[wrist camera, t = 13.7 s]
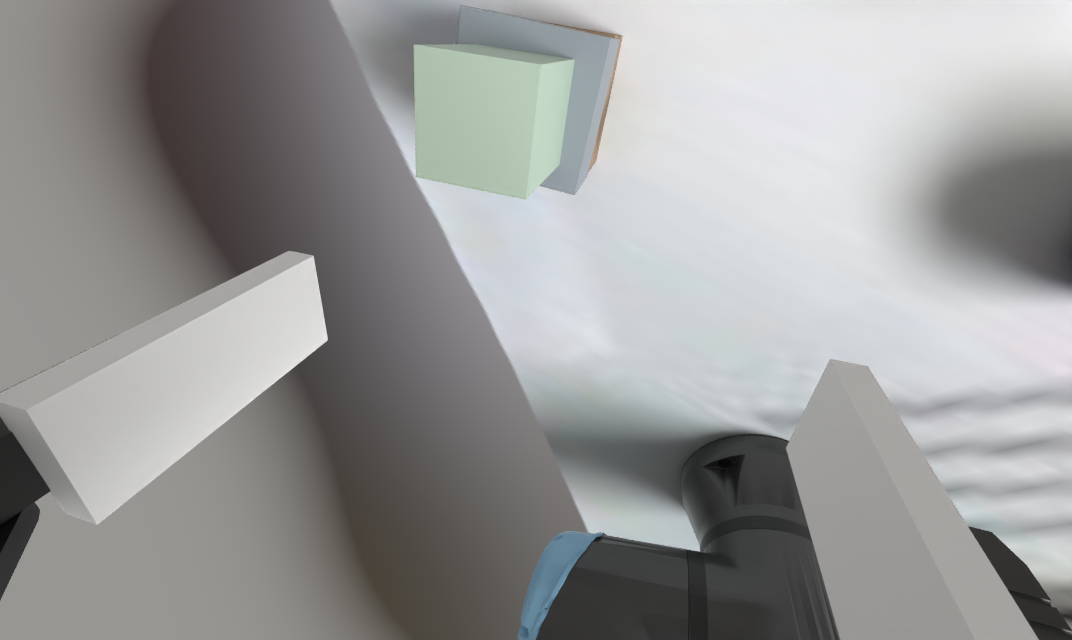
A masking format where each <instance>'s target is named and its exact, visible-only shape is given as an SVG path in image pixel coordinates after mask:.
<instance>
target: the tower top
mask: <svg viewBox="0 0 1072 640" xmlns="http://www.w3.org/2000/svg"><path fill="white" fill-rule="evenodd" d="M619 42H620V39H616V38H612V37H607V36H603V35H598V34H594V33H589V32H585V31H580V30H576V29H571V28H567V27H562V26H558V25H553V24H549V23H544V22H540V21H535V20H531V19H526V18H521V17H517V16H512V15H508V14H503V13H499V12H494V11H490V10H484V9H479V8H473V7H467V6H462V5H460V15H459V28H458V41H457V44H480V45H486V46H493V47H499V48H506V49H512V50H519V51H525V52H532V53H538V54H545V55H551V56H558V57H564V58H570V59H575V61H574V68H573V75H572V82H571V89H570V95H569V102H568V109H567V116H566V123H565V130H564V137H563V144H562V150H561V157H560V164H559V166H558V167H557V168H556V169H555V170H554V171H553V172H552V173H551V174H550V175H549V176H548V177H547V178H546V179H545V180H544V181H543V182H542V183H541V184H540V185H539V186H542V187H546V188H550V189H554V190H557V191H561V192H565V193H569V194H573V195H575V193H576V192H577V191H578V189H579V188H580V186H581V185H582V183H583V182H584V180H585V179H586V177H587V174H588V170H589V166H590V162H591V158H592V153H593V149H594V145H595V141H596V137H597V133H598V129H599V125H600V120H601V116H602V112H603V108H604V104H605V100H606V96H607V92H608V87H609V83H610V79H611V75H612V71H613V67H614V63H615V59H616V54H617V50H618V46H619Z"/></svg>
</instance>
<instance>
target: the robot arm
mask: <svg viewBox="0 0 1072 640" xmlns="http://www.w3.org/2000/svg"><path fill="white" fill-rule="evenodd" d="M327 340H328V339H327V333H326V326H325V321H324V315H323V309H322V303H321V297H320V292H319V286H318V280H317V274H316V268H315V262H314V257H313V256H312V255H307V254H302V253H297V252H292V251H288V252H286V253H284V254H282V255H280V256H278V257H276V258H274V259H272V260H269V261H267V262H265V263H263V264H261V265H259V266H257V267H255V268H253V269H251V270H250V271H247V272H245V273H243V274H241V275H239V276H237V277H235V278H233V279H231V280H229V281H227V282H225V283H223V284H221V285H219V286H217V287H215V288H213V289H210V290H208V291H206V292H204V293H202V294H200V295H198V296H196V297H194V298H192V299H190V300H188V301H186V302H184V303H182V304H180V305H178V306H176V307H174V308H172V309H170V310H168V311H166V312H164V313H162V314H159V315H157V316H156V317H153V318H151V319H149V320H147V321H145V322H143V323H141V324H139V325H137V326H135V327H133V328H131V329H129V330H127V331H125V332H123V333H121V334H118V335H116V336H114V337H112V338H110V339H108V340H106V341H104V342H102V343H100V344H98V345H96V346H94V347H92V348H90V349H88V350H85V351H83V352H81V353H79V354H77V355H75V356H74V357H71V358H70V359H68V360H66V361H63V362H61V363H59V364H57V365H55V366H53V367H51V368H49V369H47V370H45V371H43V372H41V373H39V374H37V375H34V376H33V377H31V378H28V379H27V380H24V381H22V382H20V383H18V384H16V385H14V386H12V387H10V388H8V389H6V390H4V391H2V392H0V600H1V597H2V595H3V593H4V591H5V589H6V587H7V585H8V583H9V580H10V579H11V576H12V574H13V572H14V570H15V568H16V566H17V564H18V562H19V559H20V558H21V555H22V553H23V551H24V549H25V547H26V545H27V543H28V541H29V539H30V537H31V534H32V532H33V530H34V528H35V526H36V524H37V522H38V519H39V513H40V510H39V508H38V507H37V505H36V504H35V501H37V500H38V499H39V498H41V497H42V496H44V495H45V494H47V493H48V492H51V493H52V495H53V496H54V498H55V499H56V501H57V503H58V504H59V506H60V507H61V509H62V510H63V512H64V513H65V514H68V515H71V516H74V517H77V518H80V519H83V520H85V521H88V522H91V523H94V524H97V525H98V524H99V523H100V522H101V521H103V520H104V519H105V518H106V517H108V516H109V515H110V514H111V513H113V512H114V511H115V510H116V509H118V508H119V507H120V506H121V505H122V504H124V503H125V502H126V501H128V500H129V499H130V498H131V497H133V496H134V495H135V494H136V493H138V492H139V491H140V490H141V489H142V488H144V487H145V486H146V485H148V484H149V483H150V482H151V481H152V480H154V479H155V478H156V477H157V476H159V475H160V474H161V473H162V472H164V471H165V470H166V469H168V468H169V467H170V466H171V465H172V464H174V463H175V462H176V461H177V460H179V459H180V458H181V457H182V456H184V455H185V454H186V453H187V452H189V451H190V450H191V449H192V448H194V447H195V446H196V445H197V444H199V443H200V442H201V441H202V440H204V439H205V438H206V437H207V436H209V435H210V434H211V433H212V432H214V431H215V430H216V429H217V428H219V427H220V426H221V425H222V424H224V423H225V422H226V421H227V420H229V419H230V418H231V417H232V416H234V415H235V414H236V413H237V412H238V411H240V410H241V409H242V408H244V407H245V406H246V405H247V404H249V403H250V402H251V401H252V400H253V399H255V398H256V397H257V396H259V395H260V394H261V393H262V392H263V391H265V390H266V389H267V388H269V387H270V386H271V385H272V384H274V383H275V382H276V381H277V380H279V378H281V377H282V376H284V375H285V374H286V373H287V372H289V371H290V370H291V369H292V368H293V367H295V366H296V365H297V364H299V363H300V362H301V361H302V360H304V359H305V358H306V357H307V356H308V355H310V354H311V353H312V352H314V351H315V350H316V349H317V348H318V347H320V346H321V345H322V344H323V343H324V342H326V341H327ZM681 496H682V502H683V505H684V508H685V510H686V513H687V515H688V518H689V520H690V523H691V525H692V528H693V530H694V532H695V535H696V537H697V540H698V542H699V545H700V552H698V551H692V550H686V549H682V548H676V547H670V546H664V545H658V544H652V543H646V542H640V541H634V540H629V539H623V538H618V537H613V536H607V535H606V534H604V533H596V534H592V533H581V532H574V531H567V532H563V533H560V534H559V535H557V536H556V537H554V538H553V539H552V540H551V542H550V543H549V544H548V545H547V547H546V548H545V550H544V551H543V553H542V555H541V557H540V559H539V561H538V564H537V566H536V569H535V571H534V574H533V576H532V579H531V582H530V585H529V588H528V592H527V595H526V599H525V602H524V606H523V610H522V615H521V623H522V625H521V627H520V631H519V634H518V640H1072V630H1071V629H1070V627H1069V626H1068V624H1067V623H1066V621H1065V620H1064V618H1063V617H1062V616H1061V614H1060V613H1059V611H1058V610H1057V608H1054V607H1051V604H1050V602H1051V600H1050V598H1049V597H1048V595H1047V594H1046V593H1045V591H1044V590H1043V588H1042V587H1041V585H1040V584H1039V582H1038V581H1037V580H1036V578H1035V577H1034V575H1033V574H1032V572H1031V571H1030V569H1029V568H1028V567H1027V565H1026V564H1025V563H1024V562H1023V561H1022V560H1020V559H1019V558H1018V557H1017V556H1016V555H1015V554H1014V553H1013V552H1012V551H1011V550H1010V549H1009V548H1008V547H1007V546H1006V545H1005V544H1004V543H1002V542H1001V541H1000V540H999V539H998V538H997V537H996V536H995V535H994V534H993V533H992V532H989V531H985V530H981V529H977V528H973V527H969V526H967V524H966V523H965V521H964V519H963V518H962V516H961V515H960V513H959V511H958V510H957V508H956V507H955V505H954V503H953V502H952V500H951V499H950V497H949V495H948V494H947V492H946V491H945V489H944V487H943V486H942V484H941V483H940V481H939V480H938V478H937V476H936V475H935V473H934V472H933V470H932V468H931V467H930V465H929V464H928V462H927V460H926V459H925V457H924V456H923V454H922V452H921V451H920V449H919V448H918V446H917V444H916V443H915V441H914V440H913V438H912V436H911V435H910V433H909V432H908V430H907V428H906V427H905V425H904V424H903V422H902V420H901V419H900V417H899V416H898V414H897V412H896V411H895V409H894V408H893V406H892V404H891V403H890V401H889V400H888V398H887V397H886V395H885V393H884V392H883V390H882V389H881V387H880V385H879V384H878V382H877V381H876V379H875V377H874V376H873V374H872V373H871V371H870V369H869V368H868V367H867V366H862V365H857V364H852V363H847V362H842V361H837V360H832V359H830V360H829V362H828V364H827V366H826V368H825V370H824V373H823V375H822V377H821V379H820V381H819V383H818V385H817V387H816V389H815V391H814V393H813V395H812V397H811V399H810V401H809V403H808V405H807V407H806V409H805V411H804V413H803V415H802V417H801V419H800V421H799V423H798V425H797V427H796V429H795V431H794V433H793V435H792V437H791V439H790V441H789V442H787V441H784V440H781V439H777V438H773V437H767V436H757V435H743V436H734V437H728V438H724V439H720V440H717V441H714V442H712V443H710V444H707V445H706V446H704V447H702V448H700V449H699V450H698V451H696V452H695V453H694V454H693V455H692V456H691V457H690V458H689V459H688V461H687V462H686V464H685V466H684V468H683V471H682V475H681Z"/></svg>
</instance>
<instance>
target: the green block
mask: <svg viewBox="0 0 1072 640" xmlns="http://www.w3.org/2000/svg"><path fill="white" fill-rule="evenodd" d="M574 61H575V59H570V58H564V57H558V56H551V55H545V54H538V53H532V52H525V51H519V50H512V49H506V48H499V47H493V46H486V45H480V44H414V96H415V150H416V177H418V178H423V179H428V180H433V181H438V182H443V183H448V184H453V185H457V186H462V187H467V188H472V189H477V190H482V191H487V192H492V193H496V194H501V195H506V196H511V197H516V198H521V199H527V198H528V197H529V196H530V195H531V194H532V193H533V192H534V191H535V190H536V189H537V188H538V186H539V185H540V184H541V183H542V182H543V181H544V180H545V179H546V178H547V177H548V176H549V175H550V174H551V173H552V172H553V171H554V170H555V169H556V168H557V167H558V166H559V164H560V157H561V150H562V144H563V137H564V130H565V123H566V116H567V109H568V102H569V95H570V89H571V82H572V75H573V68H574Z"/></svg>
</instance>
